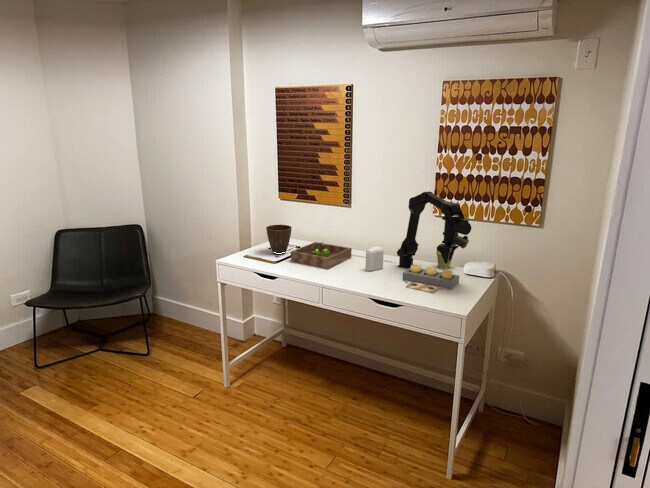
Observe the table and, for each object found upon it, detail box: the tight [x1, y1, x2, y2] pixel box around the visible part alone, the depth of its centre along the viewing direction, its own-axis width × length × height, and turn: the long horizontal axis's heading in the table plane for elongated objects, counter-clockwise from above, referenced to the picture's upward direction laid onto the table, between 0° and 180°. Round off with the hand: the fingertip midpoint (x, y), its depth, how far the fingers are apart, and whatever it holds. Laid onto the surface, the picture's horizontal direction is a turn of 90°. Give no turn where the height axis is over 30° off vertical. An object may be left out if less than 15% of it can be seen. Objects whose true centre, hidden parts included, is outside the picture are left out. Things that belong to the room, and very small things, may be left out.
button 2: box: [425, 266, 437, 277], centre depth 224 cm, size 5×5×4 cm
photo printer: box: [365, 246, 384, 272], centre depth 242 cm, size 10×4×12 cm, turn 123°
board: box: [402, 267, 460, 291], centre depth 225 cm, size 25×11×4 cm, turn 57°
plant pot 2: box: [435, 250, 452, 270], centre depth 247 cm, size 9×9×9 cm
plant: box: [308, 242, 335, 258], centre depth 259 cm, size 20×20×11 cm
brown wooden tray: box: [290, 241, 352, 270], centre depth 259 cm, size 25×25×6 cm
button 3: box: [441, 269, 453, 280], centre depth 220 cm, size 5×5×4 cm
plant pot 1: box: [265, 224, 292, 256], centre depth 271 cm, size 15×15×16 cm
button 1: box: [410, 264, 422, 274], centre depth 229 cm, size 5×5×4 cm
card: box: [405, 282, 440, 294], centre depth 217 cm, size 14×8×1 cm, turn 57°
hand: (448, 262), depth 219 cm, fingers open, 5 cm apart
